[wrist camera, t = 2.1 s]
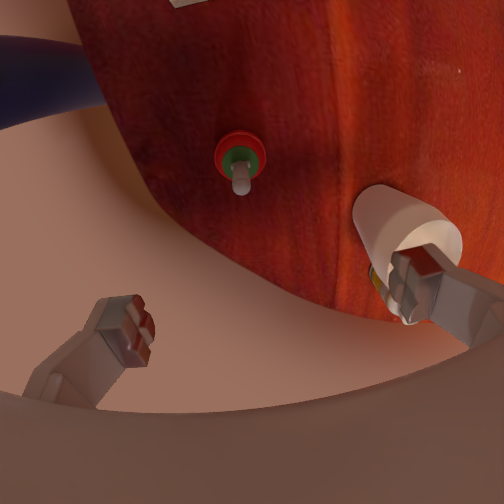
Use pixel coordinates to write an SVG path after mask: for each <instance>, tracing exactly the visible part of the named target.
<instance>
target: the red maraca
mask: <svg viewBox="0 0 504 504" xmlns="http://www.w3.org/2000/svg"><path fill="white" fill-rule="evenodd" d="M214 162H215V165H216V168H217V169H218V171H219V172H220V173H221V174H222V175H223V176H224V177H225V178H227V179H229V180H231V181H233V183H232V188H233V191H234V192H235V193H236V194H238V195H245V194H247V193H248V192H249V191H250V188H251V184H250V180H252V179H254V178H255V177H256V176H258V175H259V174H260V173H261V171H262V170H263V168H264V166H265V163H266V150H265V147H264V145H263V143H262V141H261V140H260V138H259V137H258V136H257V135H255V134H254V133H252V132H250V131H248V130H243V129H238V130H233V131H230V132H228V133H226V134H225V135H224V136H223V137H222V138H221V139H220V140H219V142H218V144H217V147H216V149H215V153H214Z"/></svg>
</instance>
